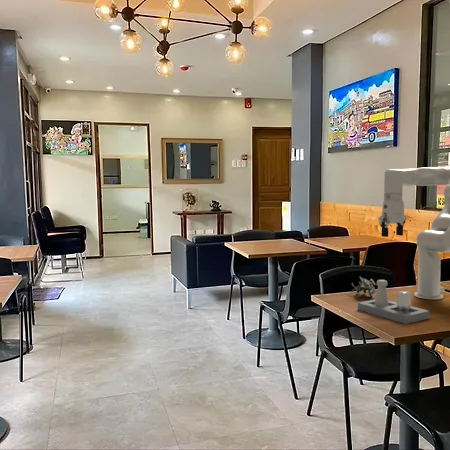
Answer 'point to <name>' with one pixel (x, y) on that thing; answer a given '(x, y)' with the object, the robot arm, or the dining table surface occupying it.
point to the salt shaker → (381, 294)
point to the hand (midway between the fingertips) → (392, 235)
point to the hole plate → (394, 312)
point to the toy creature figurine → (365, 285)
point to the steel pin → (404, 302)
